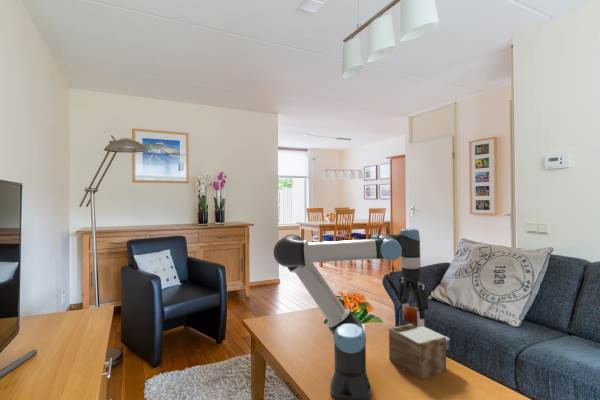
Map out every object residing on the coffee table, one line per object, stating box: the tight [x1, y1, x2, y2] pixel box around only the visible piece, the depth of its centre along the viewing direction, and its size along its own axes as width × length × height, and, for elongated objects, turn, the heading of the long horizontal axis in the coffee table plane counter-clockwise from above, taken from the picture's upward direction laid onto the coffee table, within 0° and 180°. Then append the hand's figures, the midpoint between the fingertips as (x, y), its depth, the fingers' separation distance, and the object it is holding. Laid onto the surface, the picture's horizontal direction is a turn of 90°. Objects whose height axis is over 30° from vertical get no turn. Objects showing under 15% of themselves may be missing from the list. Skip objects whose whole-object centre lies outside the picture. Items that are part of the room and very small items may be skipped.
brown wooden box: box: [388, 324, 447, 381], centre depth 140 cm, size 15×19×14 cm
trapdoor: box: [399, 325, 451, 351], centre depth 141 cm, size 17×15×5 cm
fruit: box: [402, 305, 418, 327], centre depth 131 cm, size 8×8×8 cm
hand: (413, 322), depth 131 cm, fingers closed on fruit, 8 cm apart
